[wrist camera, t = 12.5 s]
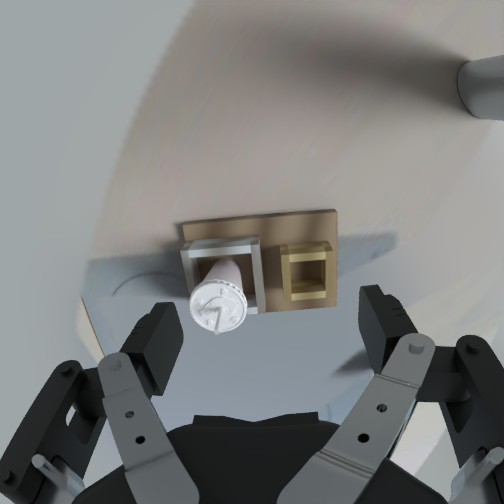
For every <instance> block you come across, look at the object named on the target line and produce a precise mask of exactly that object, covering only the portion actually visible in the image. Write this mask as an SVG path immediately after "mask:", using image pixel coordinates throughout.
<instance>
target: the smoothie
mask: <svg viewBox="0 0 504 504" xmlns="http://www.w3.org/2000/svg"><path fill="white" fill-rule="evenodd" d="M189 310H190V313H191V315H192V317H193V319H194V320H195V321H196V322H197V323H198V324H199V325H200V326H202V327H203V328H205V329H207V330H210V331H214V333H215V334H219V333H220V332H225V331H230V330H233V329H235V328H236V327H238V326H239V325H240V324H241V323H242V322H243V320H244V318H245V315H246V311H247V301H246V297H245V295H244V294H243V288H242V281H241V273H240V267H239V265H238V264H237V262H235V261H234V260H232V259H229V258H223V259H220V260H218V261H217V262H216V263H215V264H214V266H213V267H212V269H211V270H210V271H209V273H208V274H207V276H206V277H205V279H204V280H203V282H202V283H200V284H199V285H198V286H196V287H195V288H194V290H193V291H192V293H191V297H190V300H189Z"/></svg>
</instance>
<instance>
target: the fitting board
mask: <svg viewBox="0 0 504 504" xmlns="http://www.w3.org/2000/svg"><path fill="white" fill-rule="evenodd" d="M182 226H183V232H184V237H185V244H184V246H183V247H182V249H181V250H180V253H181V258H182V263H183V268H184V273H185V278H186V282H187V287H188V291H189V296H190V297H191V293H192V291H193V290H194V288H195V287H196V286H198V285H199V284H200V283H202V282H203V280H204V279H205V277H206V276H207V274H208V273H209V271H210V270H211V269H212V267H213V266H214V264H215V263H216V262H217V261H218V260H220V259H223V258H229V259H232V260H234V261H235V262H237V264H238V265H239V267H240V273H241V281H242V288H243V294H244V295H245V297H246V301H247V311H246V314H259V313H265V312H278V311H289V310H290V311H291V310H302V309H313V308H324V307H333V306H336V303H337V267H338V220H337V211H336V210H335V209H332V210H317V211H303V212H290V213H277V214H265V215H253V216H242V217H231V218H221V219H211V220H201V221H191V222H185V223H184V224H183V225H182Z"/></svg>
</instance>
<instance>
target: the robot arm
mask: <svg viewBox="0 0 504 504" xmlns="http://www.w3.org/2000/svg"><path fill="white" fill-rule="evenodd" d="M457 82H458V90H459V94H460V97H461V99H462V101H463V103H464V105H465V106H466V108H467V109H468V110H469V111H470V112H471V114H473V115H474V116H475V117H478V118H480V119H489V120H502V121H504V55H502V56H496V57H491V58H486V59H480V60H475V61H471V62H467V63H465V64H464V65H462V67H461V68H460V70H459V73H458V79H457ZM358 323H359V330H360V333H361V336H362V339H363V341H364V344H365V347H366V350H367V353H368V356H369V359H370V362H371V365H372V368H373V371H374V374H375V375H374V376H373V378H372V379H371V381H370V383H369V384H368V386H367V387H366V389H365V390H364V392H363V393H362V395H361V396H360V398H359V399H358V401H357V402H356V404H355V405H354V407H353V408H352V410H351V411H350V413H349V414H348V415H347V417H346V418H345V420H344V421H343V422H342V424H341V425H338V424H335V423H332V422H328V421H321V420H319V419H318V412H309V413H297V414H286V415H282V416H278V417H274V418H270V419H266V420H262V421H257V422H250V421H245V420H240V419H234V418H230V417H226V416H202V415H194V419H193V423H192V424H188V425H184V426H181V427H178V428H176V429H173V430H171V431H169V432H168V433H167V431H166V429H165V427H164V425H163V423H162V422H161V420H160V418H159V416H158V414H157V412H156V410H155V408H154V406H153V404H152V402H151V400H150V399H151V397H152V395H156V396H162V395H163V393H164V391H165V388H166V385H167V383H168V380H169V377H170V375H171V372H172V370H173V367H174V365H175V362H176V359H177V357H178V354H179V352H180V349H181V347H182V344H183V330H182V327H181V324H180V320H179V317H178V313H177V310H176V307H175V304H174V303H173V302H159V303H156V304H155V305H154V307H153V308H152V310H151V312H150V313H149V314H146V315H144V317H142V318H141V319H140V320H139V321H138V322H137V324H136V325H135V327H134V329H133V330H132V332H131V333H130V334H131V335H129V336H128V338H127V340H126V341H125V343H124V344H123V346H122V348H121V349H120V351H119V352H117V353H112V354H109V355H107V356H106V357H104V358H103V359H102V360H101V361H100V362H99V364H98V367H96V368H90V369H83V368H82V366H81V365H80V363H79V362H78V361H76V360H69V361H65V362H63V363H61V364H60V365H58V366H57V367H56V369H55V370H54V371H53V373H52V374H51V376H50V377H49V379H48V380H47V382H46V383H45V385H44V387H43V388H42V389H41V391H40V393H39V394H38V396H37V397H36V399H35V400H34V402H33V404H32V406H31V407H30V409H29V410H28V412H27V414H26V415H25V417H24V419H23V420H22V422H21V424H20V426H19V427H18V429H17V431H16V432H15V434H14V436H13V438H12V440H11V441H10V443H9V445H8V447H7V449H6V451H5V452H4V454H3V456H2V458H1V460H0V492H1V493H2V494H3V495H4V496H6V497H7V498H8V499H10V500H11V501H12V502H13V503H14V504H504V368H503V367H502V365H501V363H500V361H499V360H498V359H497V357H496V355H495V354H494V352H493V350H492V349H491V347H490V346H489V344H488V343H487V342H486V341H485V340H484V339H483V338H481V337H479V336H475V335H465V336H463V337H461V338H459V339H458V341H457V343H456V346H455V347H443V346H435V343H434V341H433V340H432V339H431V338H430V337H428V336H426V335H424V334H420V333H418V331H417V329H416V328H415V326H414V324H413V323H412V321H411V319H410V318H409V316H408V315H407V313H406V311H405V309H403V306H402V305H401V303H400V301H399V300H397V299H396V298H395V297H393V296H392V295H384V294H383V292H382V291H381V289H380V287H379V286H378V285H377V284H376V285H368V286H361V287H360V292H359V313H358ZM418 402H438V403H439V405H440V408H441V411H442V414H443V417H444V420H445V422H446V425H447V428H448V431H449V434H450V438H451V441H452V444H453V447H454V450H455V454H456V457H457V460H458V464H459V468H460V470H459V471H458V472H457V474H456V475H455V476H454V478H453V480H452V483H451V497H450V501H449V502H447V501H446V500H445V498H444V497H443V496H442V495H440V494H439V493H438V492H436V491H435V490H433V489H432V488H430V487H429V486H427V485H426V484H424V483H423V482H421V481H420V480H418V479H417V478H415V477H414V476H412V475H411V474H409V473H408V472H407V471H405V470H404V469H402V468H401V467H399V466H398V465H397V464H395V463H394V462H392V461H391V460H390V459H391V457H392V455H393V453H394V451H395V449H396V447H397V445H398V443H399V441H400V439H401V437H402V435H403V433H404V431H405V429H406V427H407V425H408V423H409V421H410V419H411V417H412V415H413V412H414V410H415V408H416V406H417V403H418ZM71 406H73V408H74V409H75V410H76V411H75V413H74V415H73V417H72V419H71V421H70V423H69V425H68V426H67V424H66V415H67V413H68V411H69V409H70V408H71ZM107 418H108V421H109V425H110V428H111V431H112V434H113V437H114V440H115V443H116V445H117V448H118V451H119V454H120V456H121V459H122V461H123V465H121V466H120V467H118V468H117V469H116V470H114V471H112V472H111V473H109V474H108V475H106V476H105V477H103V478H102V479H100V480H99V481H97V482H95V483H94V484H92V485H91V486H89V487H88V488H86V489H85V485H84V482H83V478H84V475H85V472H86V469H87V467H88V464H89V462H90V459H91V456H92V454H93V451H94V448H95V446H96V444H97V441H98V439H99V436H100V433H101V431H102V429H103V426H104V424H105V421H106V419H107Z"/></svg>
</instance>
